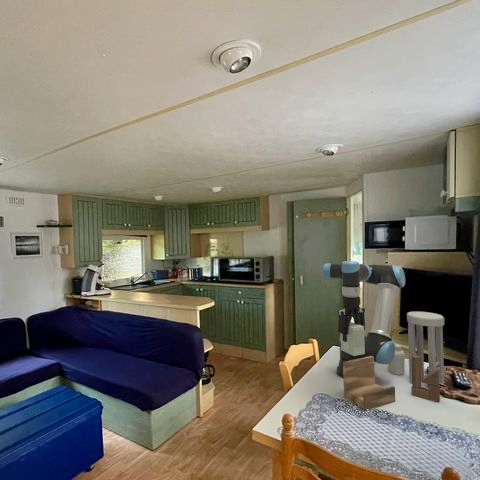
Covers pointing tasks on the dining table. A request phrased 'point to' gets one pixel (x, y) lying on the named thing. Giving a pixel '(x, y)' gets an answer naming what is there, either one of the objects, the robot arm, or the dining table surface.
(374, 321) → the robot arm
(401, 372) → the pill bottle
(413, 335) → the stool
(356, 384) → the wooden display stand
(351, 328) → the sage green upright block
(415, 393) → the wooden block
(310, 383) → the dining table surface
